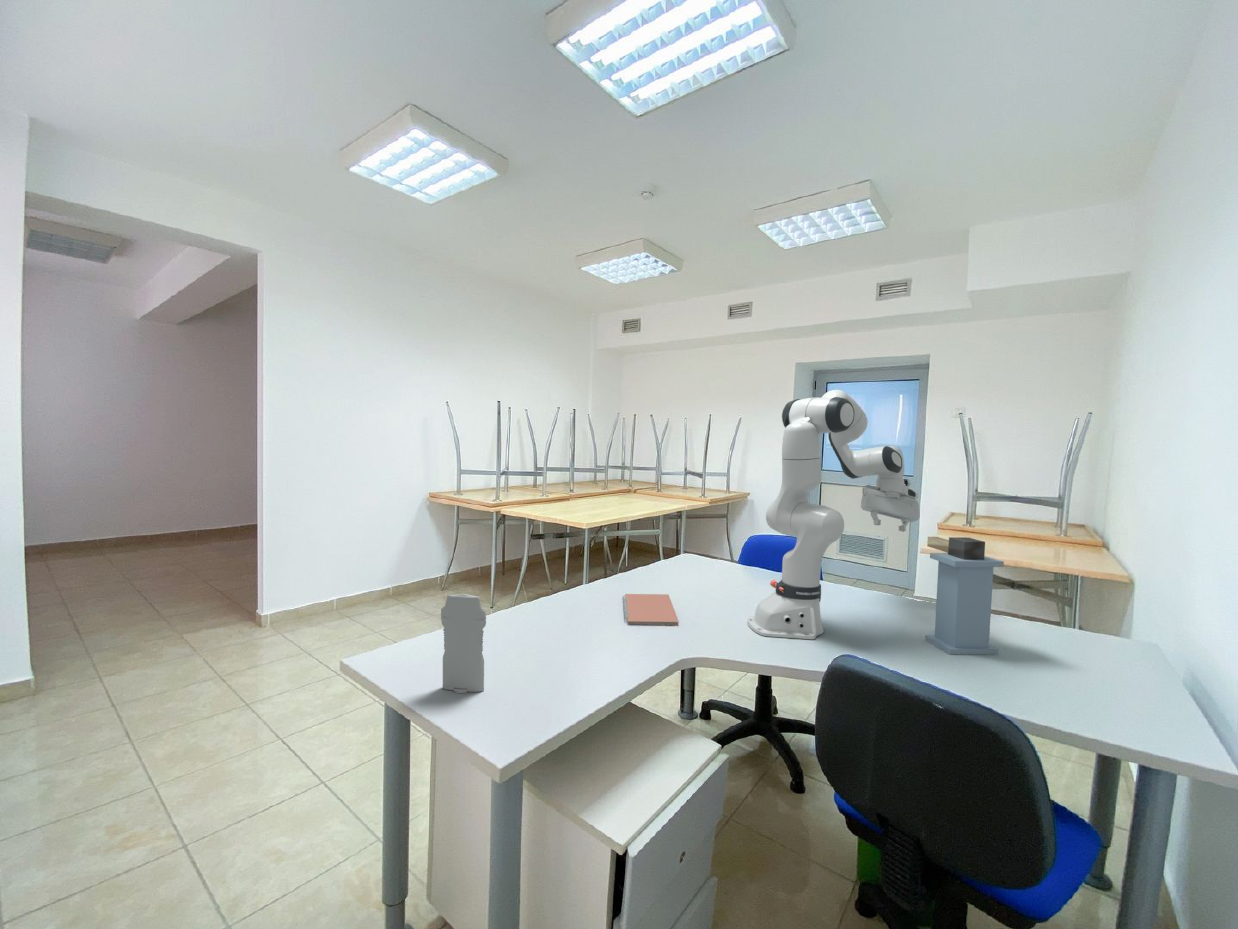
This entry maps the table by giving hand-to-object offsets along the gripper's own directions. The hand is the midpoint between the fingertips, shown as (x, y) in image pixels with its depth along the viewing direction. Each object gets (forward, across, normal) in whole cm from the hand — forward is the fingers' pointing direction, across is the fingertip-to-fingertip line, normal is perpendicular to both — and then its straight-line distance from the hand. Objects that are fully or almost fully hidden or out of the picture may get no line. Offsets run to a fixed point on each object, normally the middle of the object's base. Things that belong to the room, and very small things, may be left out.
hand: (889, 528), depth 174 cm
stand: (+37, +8, -19) cm, 43 cm away
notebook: (+44, -75, +18) cm, 88 cm away
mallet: (+12, +3, -24) cm, 27 cm away
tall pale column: (+73, -123, -25) cm, 145 cm away
